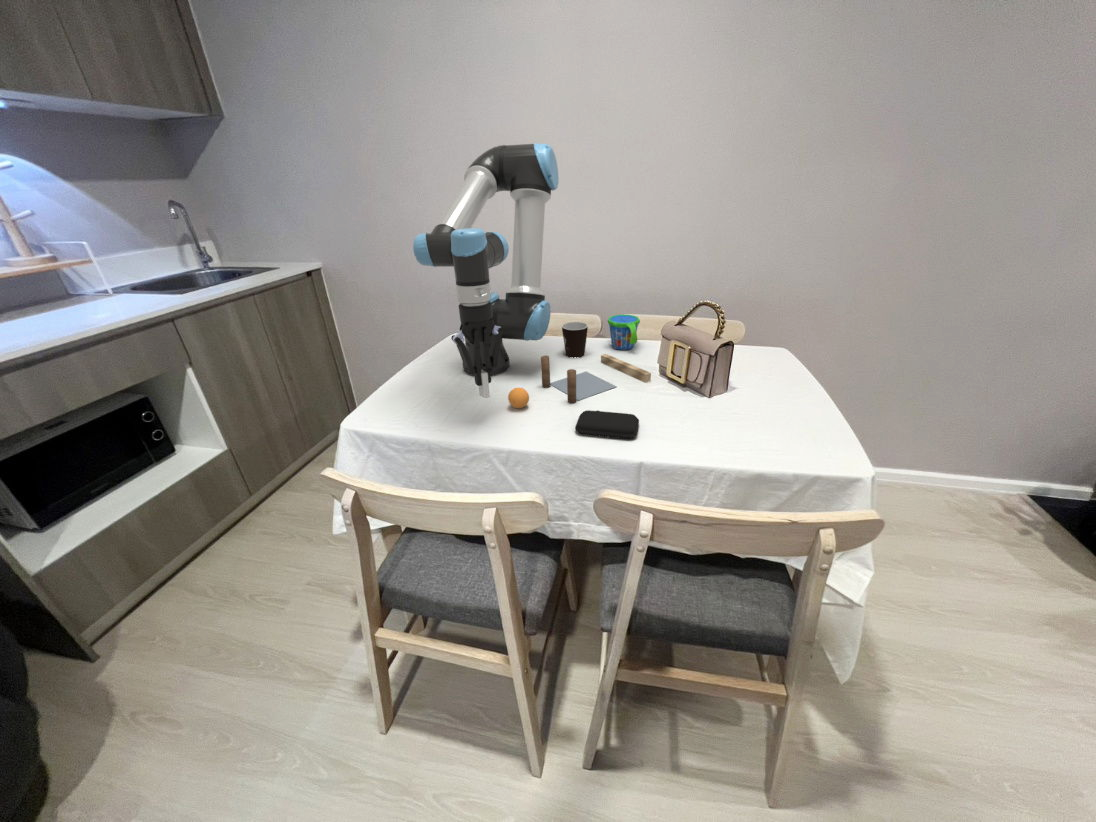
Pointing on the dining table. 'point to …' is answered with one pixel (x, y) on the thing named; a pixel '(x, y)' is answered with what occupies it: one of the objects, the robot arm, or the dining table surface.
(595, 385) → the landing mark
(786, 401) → the dining table surface
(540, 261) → the robot arm
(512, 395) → the ball
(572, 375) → the right post
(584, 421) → the carrying case or bag
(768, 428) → the dining table surface
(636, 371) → the stopper wall
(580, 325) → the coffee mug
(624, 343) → the snack cup
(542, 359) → the left post
